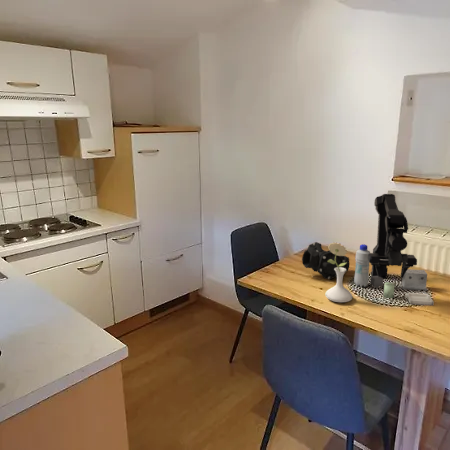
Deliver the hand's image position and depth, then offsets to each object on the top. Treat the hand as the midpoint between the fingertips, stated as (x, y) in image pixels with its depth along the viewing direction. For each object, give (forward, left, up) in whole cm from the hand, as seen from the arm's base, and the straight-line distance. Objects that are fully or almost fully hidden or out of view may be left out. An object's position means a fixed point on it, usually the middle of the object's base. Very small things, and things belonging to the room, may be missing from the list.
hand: (390, 277), depth 168 cm
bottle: (-10, +11, -9) cm, 17 cm away
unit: (+13, +11, -9) cm, 19 cm away
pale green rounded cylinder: (0, 0, -9) cm, 9 cm away
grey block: (-3, +12, -9) cm, 15 cm away
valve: (-28, +27, -9) cm, 40 cm away
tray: (+12, -2, -9) cm, 15 cm away
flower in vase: (-22, -5, -9) cm, 24 cm away
